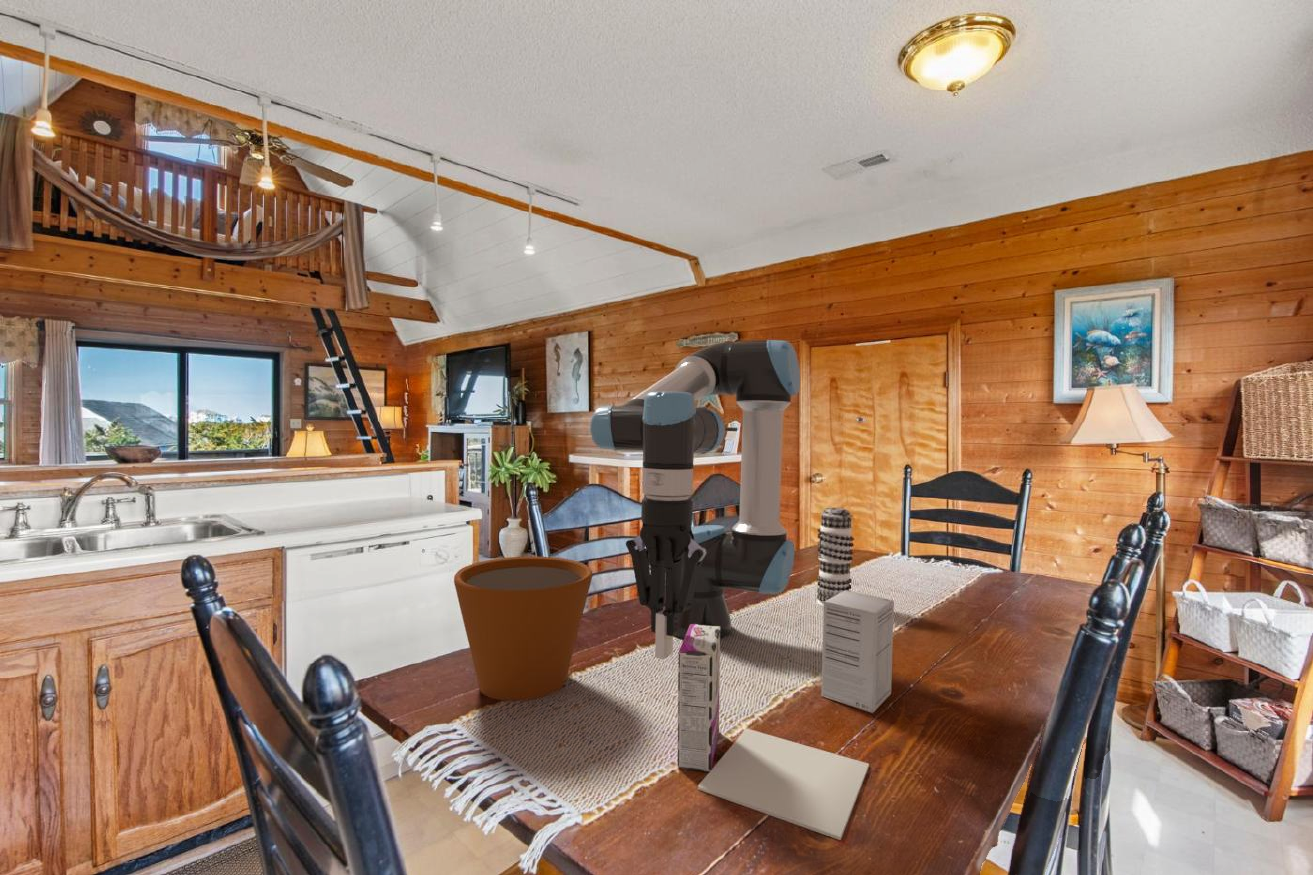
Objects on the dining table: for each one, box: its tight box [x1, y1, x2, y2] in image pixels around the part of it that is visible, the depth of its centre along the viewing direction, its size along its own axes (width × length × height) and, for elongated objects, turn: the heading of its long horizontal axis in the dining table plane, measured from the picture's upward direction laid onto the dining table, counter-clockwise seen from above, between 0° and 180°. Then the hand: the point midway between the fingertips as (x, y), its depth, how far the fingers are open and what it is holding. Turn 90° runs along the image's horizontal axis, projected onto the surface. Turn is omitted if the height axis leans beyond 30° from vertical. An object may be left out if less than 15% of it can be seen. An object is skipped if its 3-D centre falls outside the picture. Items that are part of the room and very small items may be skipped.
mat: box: [697, 727, 870, 841], centre depth 80 cm, size 18×17×1 cm
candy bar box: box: [677, 624, 721, 773], centre depth 86 cm, size 11×5×16 cm, turn 168°
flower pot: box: [453, 556, 593, 702], centre depth 107 cm, size 24×24×20 cm
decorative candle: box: [816, 507, 855, 608], centre depth 156 cm, size 9×9×25 cm
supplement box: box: [820, 590, 895, 714], centre depth 104 cm, size 10×9×17 cm
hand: (663, 655), depth 89 cm, fingers closed
